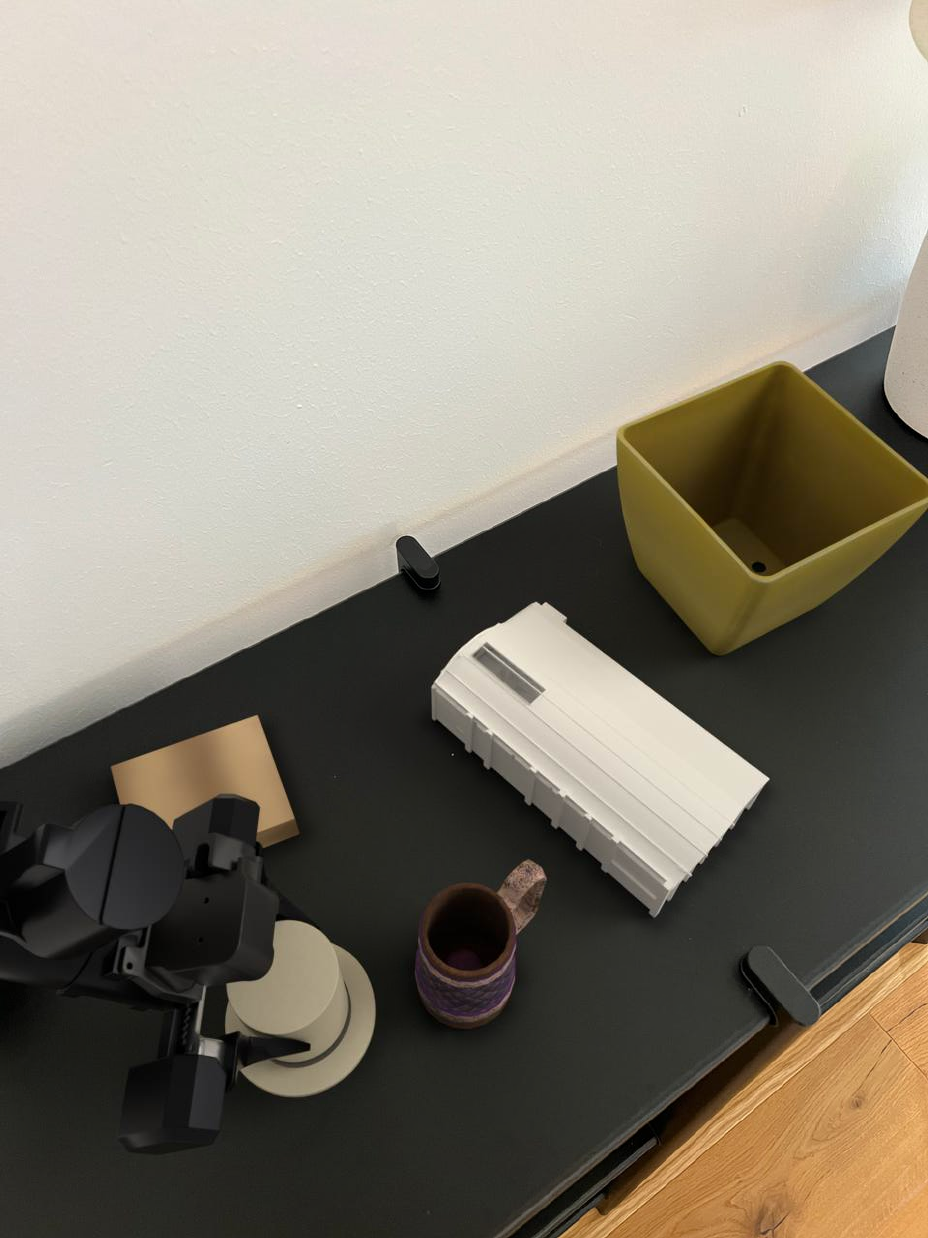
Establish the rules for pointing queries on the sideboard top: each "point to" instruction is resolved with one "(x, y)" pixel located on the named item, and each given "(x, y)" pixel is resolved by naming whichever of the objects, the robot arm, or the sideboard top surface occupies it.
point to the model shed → (595, 750)
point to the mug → (474, 946)
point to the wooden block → (210, 777)
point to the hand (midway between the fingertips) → (311, 989)
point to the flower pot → (759, 502)
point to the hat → (305, 1012)
